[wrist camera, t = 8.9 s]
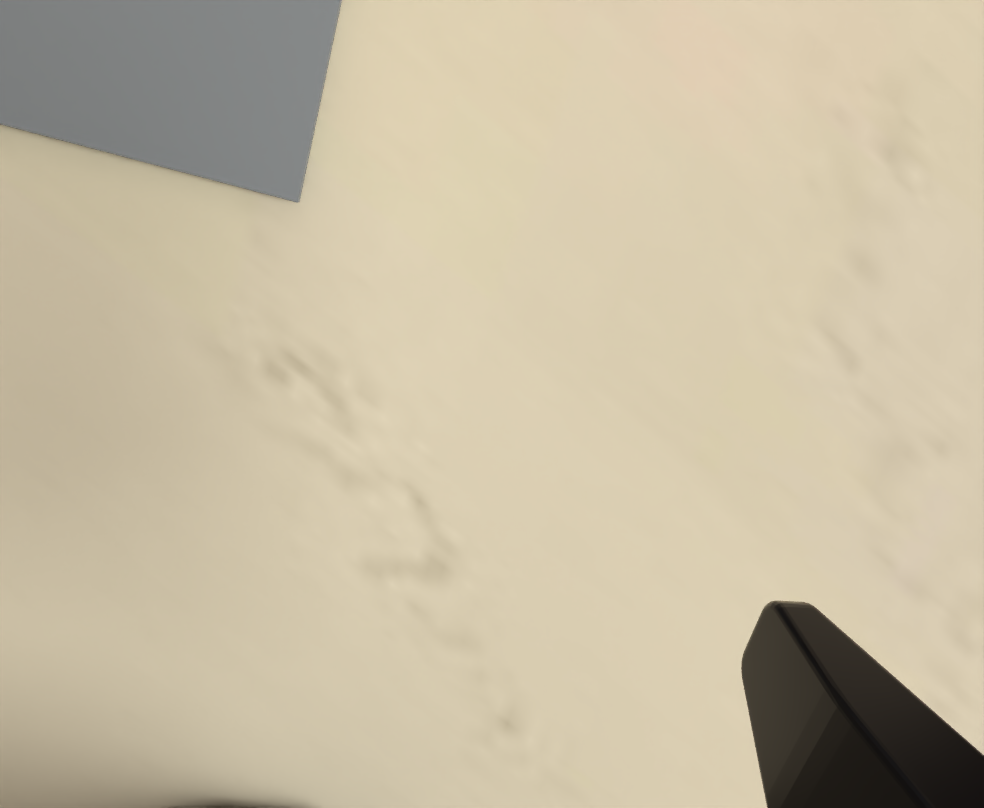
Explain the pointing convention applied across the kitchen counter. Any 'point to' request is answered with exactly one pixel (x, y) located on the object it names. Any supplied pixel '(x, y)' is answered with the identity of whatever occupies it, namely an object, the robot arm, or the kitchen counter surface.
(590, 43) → the kitchen counter surface
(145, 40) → the seat mat
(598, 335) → the kitchen counter surface
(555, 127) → the kitchen counter surface
